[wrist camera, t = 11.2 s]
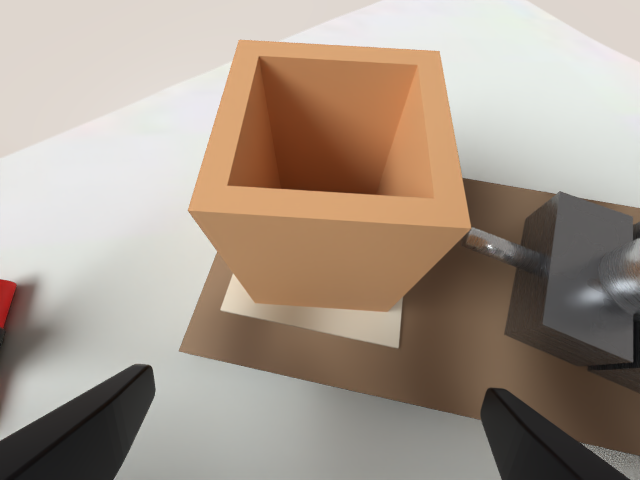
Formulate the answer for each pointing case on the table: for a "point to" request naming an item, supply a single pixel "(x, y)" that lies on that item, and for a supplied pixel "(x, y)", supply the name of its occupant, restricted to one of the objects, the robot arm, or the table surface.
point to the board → (425, 337)
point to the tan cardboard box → (331, 174)
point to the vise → (575, 285)
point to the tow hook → (5, 302)
